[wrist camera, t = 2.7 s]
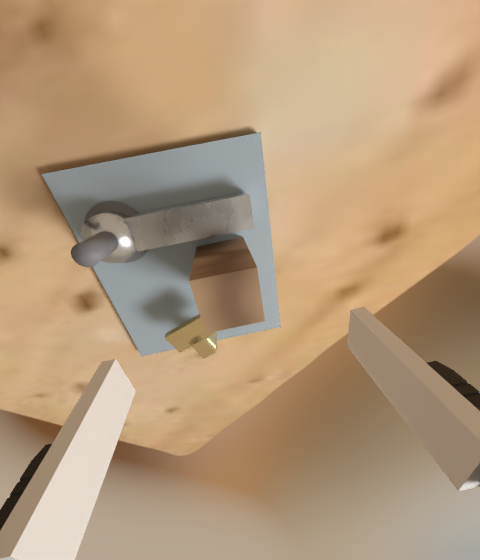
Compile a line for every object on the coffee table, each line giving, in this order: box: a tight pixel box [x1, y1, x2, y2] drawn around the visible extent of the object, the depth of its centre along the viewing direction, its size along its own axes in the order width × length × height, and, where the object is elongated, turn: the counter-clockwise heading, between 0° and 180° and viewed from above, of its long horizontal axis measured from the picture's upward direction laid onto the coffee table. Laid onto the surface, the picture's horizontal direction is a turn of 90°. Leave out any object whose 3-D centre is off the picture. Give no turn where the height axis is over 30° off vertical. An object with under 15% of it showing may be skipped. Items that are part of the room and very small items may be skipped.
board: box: [41, 132, 281, 356], centre depth 21 cm, size 19×22×7 cm
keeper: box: [165, 314, 217, 358], centre depth 25 cm, size 5×5×4 cm
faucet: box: [81, 192, 254, 263], centre depth 20 cm, size 15×4×2 cm, turn 100°
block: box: [189, 237, 265, 333], centre depth 20 cm, size 5×5×8 cm
